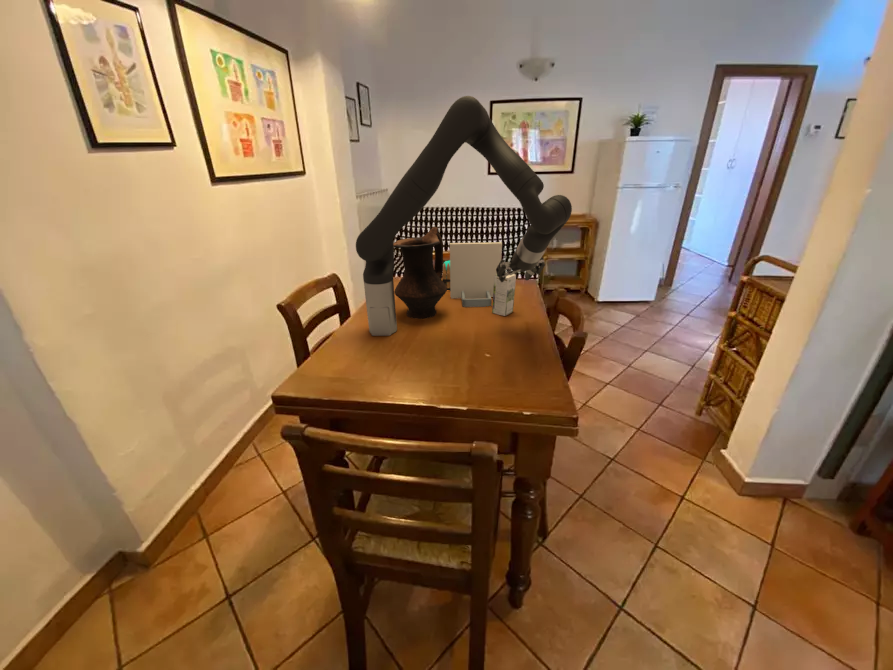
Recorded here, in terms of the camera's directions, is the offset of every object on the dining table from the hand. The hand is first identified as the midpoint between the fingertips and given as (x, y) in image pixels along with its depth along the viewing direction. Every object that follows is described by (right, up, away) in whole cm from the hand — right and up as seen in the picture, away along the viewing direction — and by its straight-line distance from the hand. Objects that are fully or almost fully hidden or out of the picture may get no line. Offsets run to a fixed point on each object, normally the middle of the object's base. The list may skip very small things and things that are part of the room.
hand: (513, 278), depth 122 cm
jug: (-30, -11, +15) cm, 35 cm away
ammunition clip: (-19, +1, +39) cm, 43 cm away
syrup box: (-1, -10, +15) cm, 18 cm away
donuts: (-19, +5, +48) cm, 52 cm away
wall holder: (-10, -5, +25) cm, 28 cm away
